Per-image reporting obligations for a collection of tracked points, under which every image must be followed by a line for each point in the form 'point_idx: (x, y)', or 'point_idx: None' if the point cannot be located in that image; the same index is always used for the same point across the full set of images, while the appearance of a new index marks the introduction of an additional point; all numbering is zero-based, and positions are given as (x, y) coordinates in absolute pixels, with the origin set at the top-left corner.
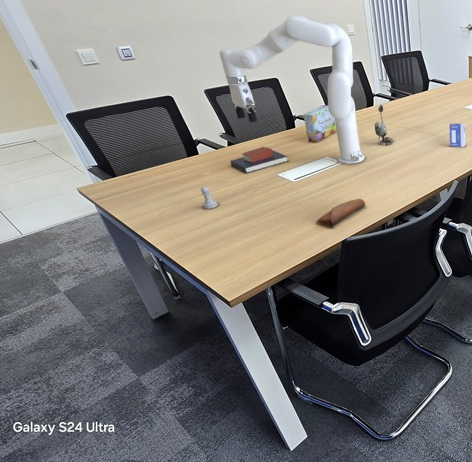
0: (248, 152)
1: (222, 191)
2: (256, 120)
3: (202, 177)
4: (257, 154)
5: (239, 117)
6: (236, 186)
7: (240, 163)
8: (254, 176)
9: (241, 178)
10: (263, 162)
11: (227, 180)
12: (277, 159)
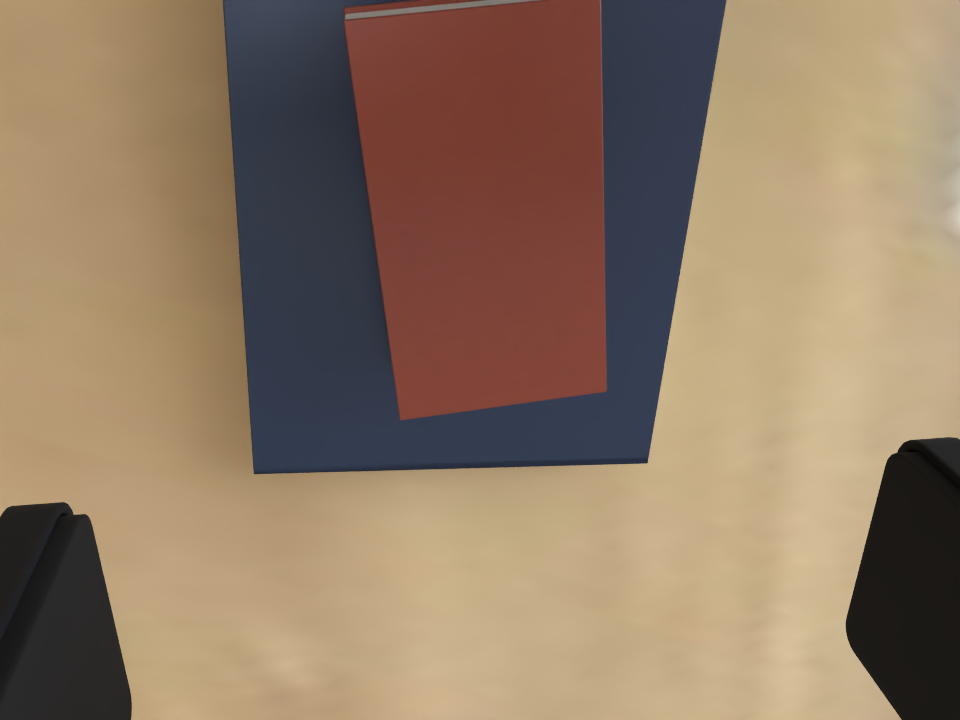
0: (448, 346)
1: (813, 690)
2: (956, 458)
3: (370, 705)
4: (599, 278)
5: (120, 715)
6: (828, 597)
7: (462, 435)
8: (774, 409)
9: (705, 507)
10: (677, 236)
11: (635, 599)
12: (710, 15)
